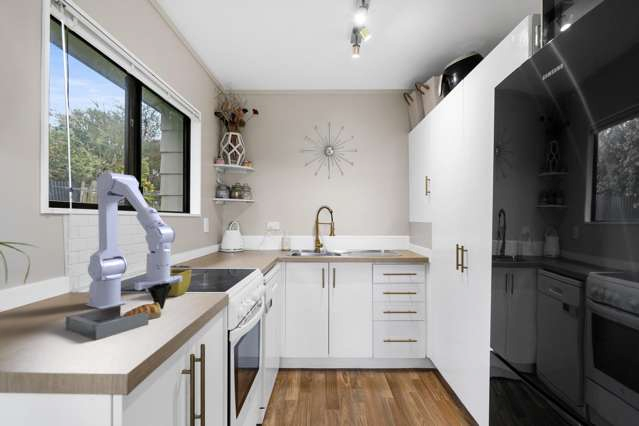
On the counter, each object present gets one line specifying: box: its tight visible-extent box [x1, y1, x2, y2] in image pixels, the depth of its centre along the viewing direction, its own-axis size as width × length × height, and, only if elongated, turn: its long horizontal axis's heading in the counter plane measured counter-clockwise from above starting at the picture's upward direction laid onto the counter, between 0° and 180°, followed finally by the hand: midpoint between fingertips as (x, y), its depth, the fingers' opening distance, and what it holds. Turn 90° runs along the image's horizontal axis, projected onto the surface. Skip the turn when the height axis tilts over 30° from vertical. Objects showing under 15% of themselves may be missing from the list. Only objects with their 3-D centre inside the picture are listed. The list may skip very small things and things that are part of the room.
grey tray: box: [65, 304, 149, 341], centre depth 82 cm, size 15×13×3 cm
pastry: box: [123, 302, 163, 320], centre depth 90 cm, size 9×7×4 cm
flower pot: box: [167, 269, 192, 297], centre depth 117 cm, size 9×9×9 cm
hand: (159, 308), depth 95 cm, fingers closed
